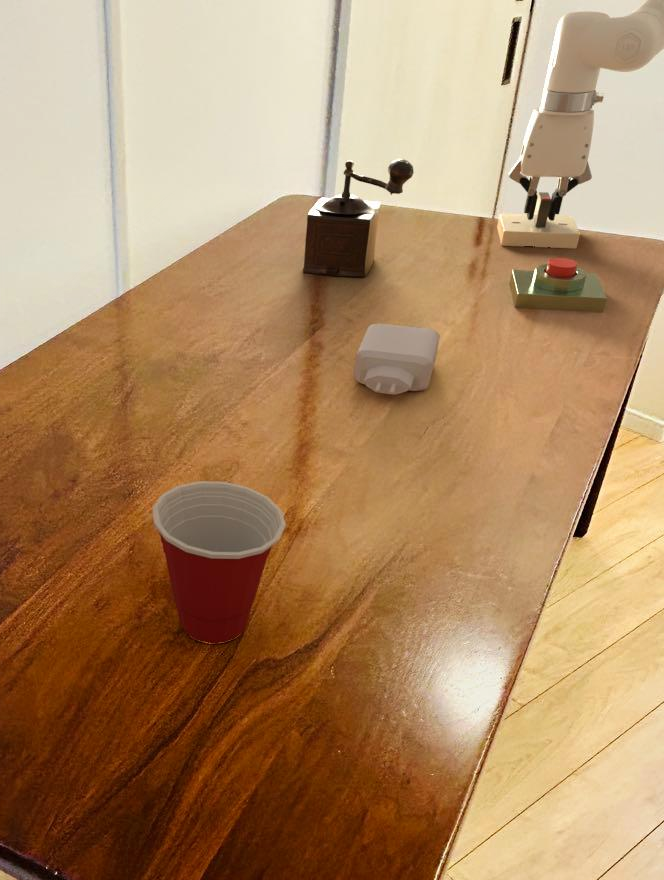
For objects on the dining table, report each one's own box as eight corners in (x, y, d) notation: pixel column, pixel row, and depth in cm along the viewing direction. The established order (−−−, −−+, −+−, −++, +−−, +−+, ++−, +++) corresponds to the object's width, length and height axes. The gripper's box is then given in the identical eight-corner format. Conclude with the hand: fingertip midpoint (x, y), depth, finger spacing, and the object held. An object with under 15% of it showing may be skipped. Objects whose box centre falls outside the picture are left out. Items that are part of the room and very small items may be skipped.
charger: (343, 404, 111) (364, 355, 123) (420, 415, 108) (435, 363, 120) (347, 369, 109) (368, 321, 120) (426, 379, 106) (441, 329, 117)
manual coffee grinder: (299, 274, 148) (308, 158, 137) (314, 252, 156) (323, 141, 145) (396, 283, 143) (413, 163, 132) (406, 260, 151) (422, 146, 141)
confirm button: (572, 270, 135) (575, 258, 134) (576, 279, 132) (579, 268, 131) (544, 268, 136) (546, 257, 135) (547, 278, 133) (549, 266, 132)
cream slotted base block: (568, 230, 160) (572, 214, 158) (576, 248, 152) (580, 232, 151) (497, 227, 163) (500, 212, 161) (501, 245, 155) (504, 230, 153)
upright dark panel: (532, 218, 158) (538, 190, 155) (542, 218, 158) (548, 190, 155) (535, 227, 154) (541, 198, 151) (545, 227, 154) (551, 199, 151)
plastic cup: (295, 653, 76) (307, 539, 69) (172, 676, 75) (170, 562, 68) (254, 576, 85) (260, 467, 78) (142, 595, 83) (138, 486, 76)
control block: (592, 287, 138) (599, 261, 136) (602, 312, 131) (610, 286, 128) (509, 283, 141) (514, 258, 139) (514, 307, 133) (520, 281, 131)
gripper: (617, 97, 146) (587, 213, 156) (510, 96, 149) (488, 209, 160) (626, 106, 140) (594, 226, 151) (514, 105, 143) (491, 222, 154)
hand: (540, 216), depth 155 cm, fingers closed
